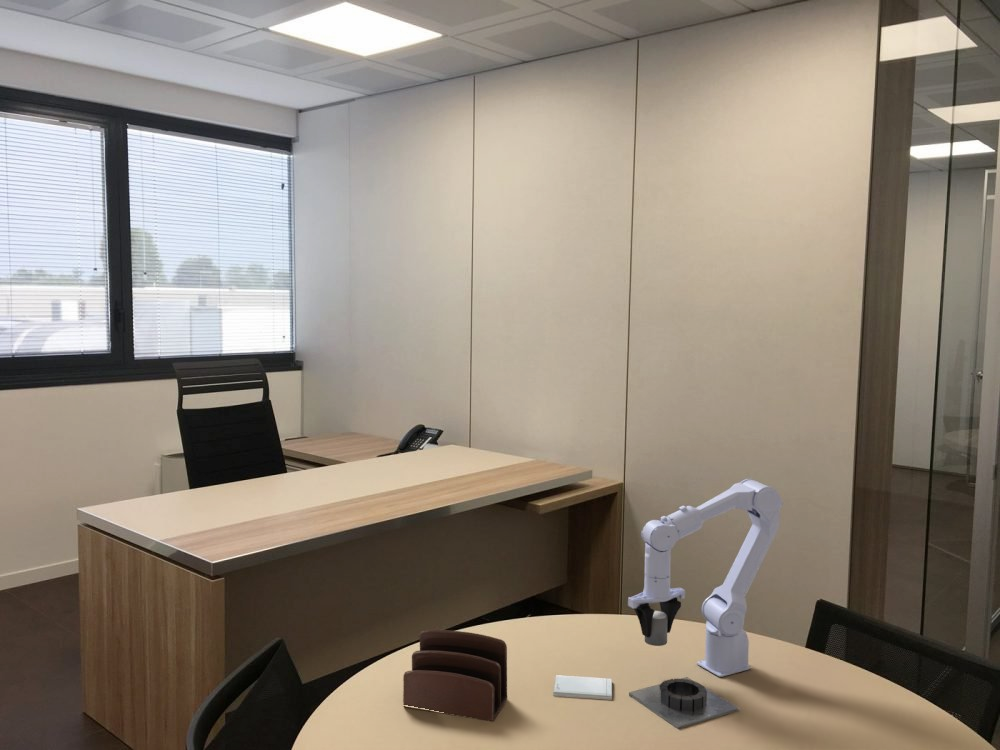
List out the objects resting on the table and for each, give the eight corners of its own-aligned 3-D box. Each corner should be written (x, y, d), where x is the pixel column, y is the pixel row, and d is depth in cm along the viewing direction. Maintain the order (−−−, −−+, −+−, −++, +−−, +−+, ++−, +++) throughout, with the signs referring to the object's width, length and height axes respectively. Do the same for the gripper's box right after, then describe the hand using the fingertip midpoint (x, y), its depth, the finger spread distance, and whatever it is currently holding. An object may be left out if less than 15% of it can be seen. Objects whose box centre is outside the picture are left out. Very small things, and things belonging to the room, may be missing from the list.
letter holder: (421, 687, 181) (420, 624, 180) (507, 700, 175) (508, 635, 174) (402, 708, 172) (402, 642, 170) (493, 722, 166) (494, 654, 165)
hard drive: (553, 691, 177) (611, 694, 175) (555, 674, 185) (611, 677, 183) (553, 698, 177) (611, 702, 175) (555, 681, 185) (611, 684, 184)
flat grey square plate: (686, 679, 185) (687, 666, 185) (738, 710, 171) (739, 696, 171) (628, 695, 177) (629, 681, 177) (677, 728, 163) (678, 714, 163)
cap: (657, 635, 191) (658, 608, 190) (671, 643, 186) (672, 616, 186) (640, 639, 188) (640, 612, 188) (653, 647, 184) (654, 619, 183)
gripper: (671, 565, 193) (670, 621, 194) (620, 574, 186) (619, 632, 187) (691, 573, 186) (690, 632, 188) (639, 583, 180) (638, 644, 181)
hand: (656, 633), depth 187 cm, fingers closed on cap, 5 cm apart
